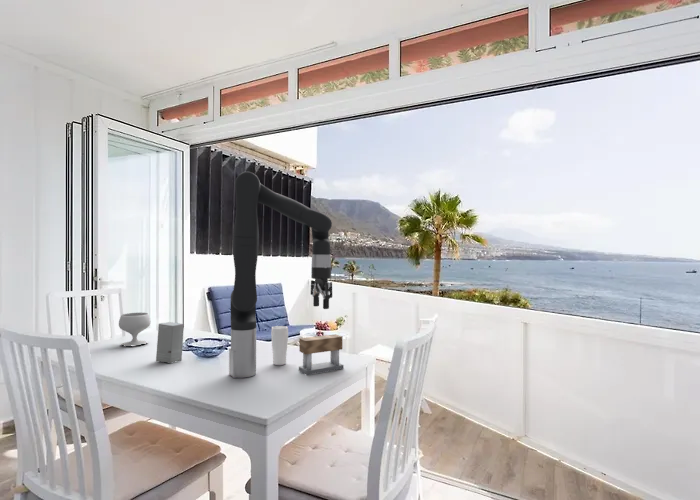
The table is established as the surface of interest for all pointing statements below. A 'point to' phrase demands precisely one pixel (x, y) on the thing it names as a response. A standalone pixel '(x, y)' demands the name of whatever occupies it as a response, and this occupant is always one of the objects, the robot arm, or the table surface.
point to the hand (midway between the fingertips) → (321, 307)
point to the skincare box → (169, 342)
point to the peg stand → (320, 364)
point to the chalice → (134, 326)
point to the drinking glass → (279, 344)
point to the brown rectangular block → (320, 344)
